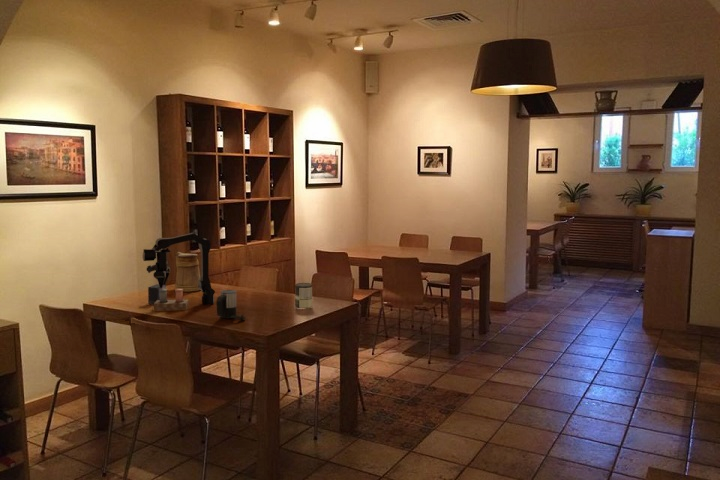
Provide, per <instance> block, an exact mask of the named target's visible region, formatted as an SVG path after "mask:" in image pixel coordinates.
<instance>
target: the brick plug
mask: <svg viewBox="0 0 720 480" xmlns="http://www.w3.org/2000/svg"><path fill="white" fill-rule="evenodd" d="M174 292H175V300H176V303H181V302H183V300H184V297H183V296H184V295H183V294H184V292H183V289H175V288H174Z"/></svg>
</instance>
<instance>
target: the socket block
mask: <svg viewBox="0 0 720 480" xmlns="http://www.w3.org/2000/svg"><path fill="white" fill-rule="evenodd" d="M189 305H190V304H189V299H183V302H181V303H176V299H167V303H160V300H157V301H156V302H155V303H154V304H153V311H154V312H158V311H159V312H160V311H161V312H163V311H165V312H166V311H187V309H188V308H189V307H190V306H189Z"/></svg>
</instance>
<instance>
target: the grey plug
mask: <svg viewBox="0 0 720 480" xmlns="http://www.w3.org/2000/svg"><path fill="white" fill-rule="evenodd" d="M159 292H160V303H167V300H168V294H167V292H168V289H167V288H166V289H160V290H159Z"/></svg>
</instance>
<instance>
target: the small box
mask: <svg viewBox="0 0 720 480" xmlns="http://www.w3.org/2000/svg"><path fill="white" fill-rule="evenodd" d="M160 289H167V285H166V284H165V285H163V287H162V288H160V286H159V283H156V284H154V285H150V286H148V287H147V291H148V294H147V295H148V298H147V299H148V300H147V304H148V305H154V303H155V302H156V301H157V300H160V292H159V290H160Z"/></svg>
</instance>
